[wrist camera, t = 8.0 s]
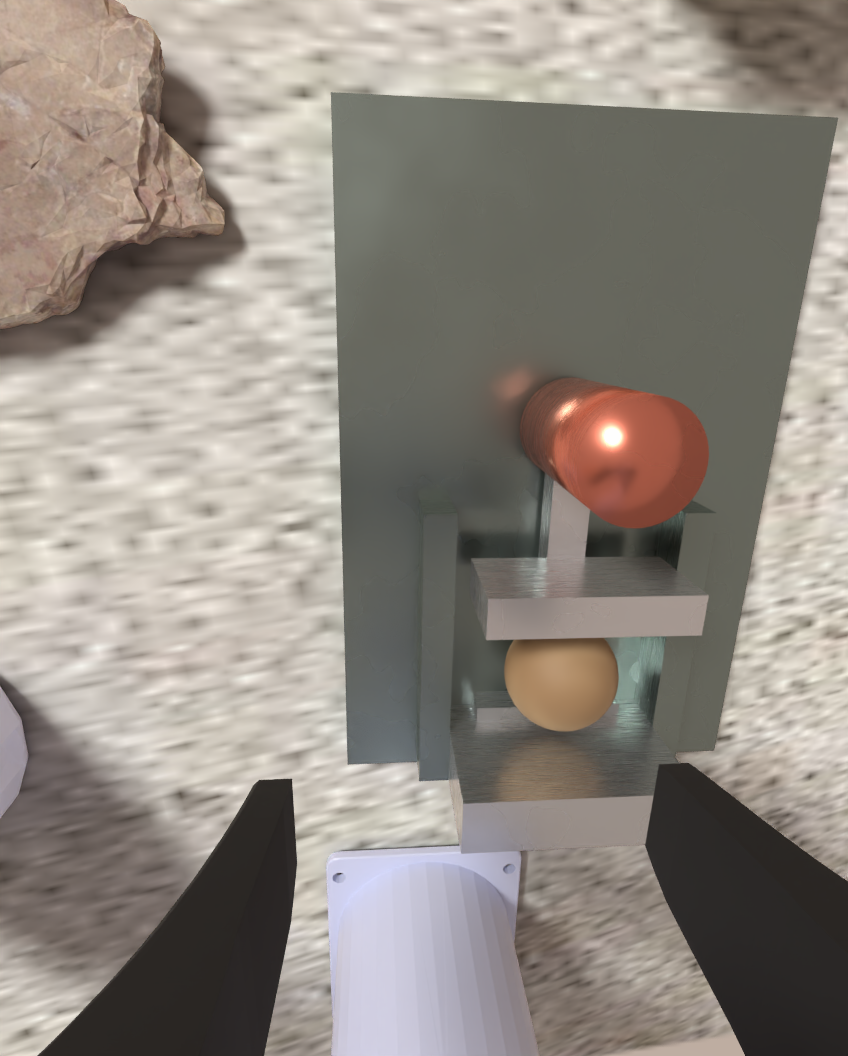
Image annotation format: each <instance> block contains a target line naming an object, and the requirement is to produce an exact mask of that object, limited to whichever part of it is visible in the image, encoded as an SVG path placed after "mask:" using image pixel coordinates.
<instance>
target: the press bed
mask: <svg viewBox="0 0 848 1056" xmlns="http://www.w3.org/2000/svg"><path fill="white" fill-rule="evenodd" d="M331 109H332V149H333V189H334V230H335V270H336V310H337V350H338V390H339V431H340V471H341V511H342V551H343V591H344V632H345V672H346V712H347V752H348V764H371V763H397V762H417V765H418V775H419V781H434V780H448V779H449V785H450V791H451V797H452V803H453V809H454V815H455V821H456V827H457V833H458V839H459V845H460V851H461V854H468V853H488V852H508V851H528V850H548V849H567V848H587V847H607V846H627V845H645V843H646V837H647V831H648V825H649V819H650V814H651V808H652V802H653V796H654V790H655V784H656V778H657V772H658V767H659V764H678V761H677V760H676V758H675V755H676V752H687V751H713V750H714V748H715V743H716V738H717V733H718V727H719V722H720V717H721V712H722V707H723V702H724V697H725V692H726V687H727V681H728V676H729V671H730V666H731V661H732V656H733V651H734V646H735V641H736V636H737V630H738V625H739V620H740V615H741V610H742V605H743V600H744V595H745V590H746V585H747V579H748V574H749V569H750V564H751V559H752V554H753V549H754V544H755V539H756V534H757V528H758V523H759V518H760V513H761V508H762V503H763V498H764V493H765V488H766V483H767V477H768V472H769V467H770V462H771V457H772V452H773V447H774V442H775V437H776V431H777V426H778V421H779V416H780V411H781V406H782V401H783V396H784V391H785V386H786V380H787V375H788V370H789V365H790V360H791V355H792V350H793V345H794V340H795V335H796V329H797V324H798V319H799V314H800V309H801V304H802V299H803V294H804V289H805V284H806V278H807V273H808V268H809V263H810V258H811V253H812V248H813V243H814V238H815V233H816V227H817V222H818V217H819V212H820V207H821V202H822V197H823V192H824V187H825V181H826V176H827V171H828V166H829V161H830V156H831V151H832V146H833V141H834V136H835V130H836V125H837V120H838V118H830V117H810V116H790V115H770V114H750V113H730V112H711V111H691V110H671V109H651V108H631V107H611V106H591V105H571V104H551V103H532V102H512V101H492V100H472V99H452V98H432V97H412V96H392V95H372V94H353V93H333V92H331ZM569 377H574V378H581V379H586V380H591V381H595V382H600V383H605V384H609V385H614V386H618V387H623V388H628V389H632V390H637V391H641V392H646V393H651V394H655V395H660V396H664V397H669V398H672V399H674V400H677V401H679V402H680V403H682V404H684V405H685V406H687V407H688V408H689V409H690V410H691V411H692V412H693V413H694V414H695V415H696V416H697V417H698V419H699V420H700V422H701V424H702V426H703V428H704V430H705V433H706V436H707V440H708V446H709V460H708V466H707V471H706V474H705V477H704V480H703V482H702V484H701V486H700V488H699V490H698V492H697V493H696V495H695V496H694V497H693V499H692V500H691V501H690V502H689V504H688V505H686V506H685V507H684V508H683V509H682V510H681V511H680V512H679V513H677V514H676V515H675V516H673V517H671V518H670V519H668V520H666V521H664V522H662V523H659V524H656V525H653V526H650V527H644V528H624V527H619V526H616V525H613V524H610V523H608V522H606V521H605V520H603V519H601V518H600V517H599V516H597V515H596V514H595V513H594V512H592V511H591V510H590V514H589V523H588V533H587V542H586V552H585V557H646V556H659V557H660V558H662V559H663V560H664V561H666V562H667V563H668V564H669V565H671V566H672V567H673V568H674V569H676V570H677V571H678V572H680V573H681V574H682V575H683V576H685V577H686V578H687V579H689V580H690V581H691V582H692V583H694V584H695V585H696V586H697V587H699V588H700V589H701V590H703V591H704V592H705V593H706V594H708V595H709V597H708V603H707V609H706V614H705V620H704V626H703V631H702V635H700V636H655V637H609V638H604V639H605V640H606V641H607V643H608V644H609V646H610V647H611V649H612V651H613V653H614V656H615V658H616V662H617V666H618V675H619V680H618V688H617V693H616V696H615V698H614V700H613V702H612V704H611V706H610V708H609V709H608V711H607V712H606V713H605V714H604V715H603V716H602V717H601V718H600V719H599V720H597V721H596V722H595V723H593V724H591V725H589V726H587V727H585V728H582V729H579V730H575V731H567V732H566V731H554V730H550V729H546V728H543V727H541V726H539V725H537V724H535V723H533V722H532V721H530V720H529V719H528V718H526V717H525V716H524V715H523V714H522V713H521V712H520V711H519V710H518V708H517V707H516V706H515V704H514V703H513V701H512V699H511V697H510V695H509V693H508V690H507V687H506V683H505V677H504V666H505V659H506V656H507V652H508V650H509V647H510V645H511V644H512V642H513V640H486V638H485V636H484V633H483V630H482V627H481V625H480V622H479V619H478V616H477V614H476V611H475V608H474V605H473V603H472V600H471V597H470V594H469V592H470V569H471V558H538V553H539V541H540V528H541V516H542V503H543V491H544V479H545V472H543V471H542V470H541V469H540V468H538V467H537V466H536V465H535V464H534V463H533V462H532V461H531V460H530V459H529V458H528V456H527V455H526V453H525V451H524V449H523V446H522V443H521V439H520V422H521V417H522V414H523V411H524V409H525V407H526V405H527V403H528V402H529V400H530V399H531V397H532V396H533V395H534V394H535V393H536V392H537V391H538V390H539V389H541V388H542V387H543V386H545V385H546V384H548V383H550V382H552V381H555V380H558V379H562V378H569Z"/></svg>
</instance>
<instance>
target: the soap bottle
mask: <svg viewBox="0 0 848 1056" xmlns="http://www.w3.org/2000/svg"><path fill="white" fill-rule="evenodd" d="M27 761H28V751H27V746H26V740H25V735H24V730H23V725H22V720H21V718H20V716H19V714H18V713H17V711H16V710H15V708H14V707H13V705H12V704H11V702H10V701H9V699H8V697H7V696H6V694H5V693H4V691H3V690H2V688H1V687H0V818H1V817H2V815H3V814H4V813H5V812H6V810H7V809H8V808H9V806H10V805H11V804H12V802H13V801H14V800H15V799H16V797H17V796H18V795H19V791H20V787H21V783H22V780H23V776H24V772H25V768H26V764H27Z"/></svg>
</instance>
